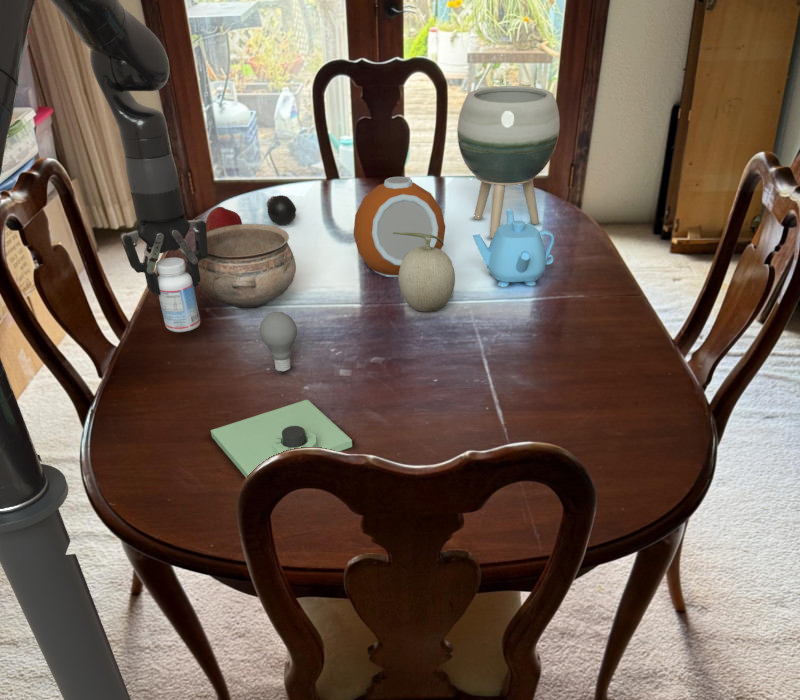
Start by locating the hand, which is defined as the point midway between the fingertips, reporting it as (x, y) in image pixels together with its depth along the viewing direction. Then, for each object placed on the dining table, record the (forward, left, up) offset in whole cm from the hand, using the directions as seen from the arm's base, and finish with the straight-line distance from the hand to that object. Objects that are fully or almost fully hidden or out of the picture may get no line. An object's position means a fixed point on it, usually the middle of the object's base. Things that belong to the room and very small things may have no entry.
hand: (175, 289), depth 132 cm
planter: (+84, +17, -11) cm, 87 cm away
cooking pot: (+17, +11, -11) cm, 23 cm away
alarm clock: (+51, +10, -11) cm, 53 cm away
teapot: (+66, -9, -11) cm, 68 cm away
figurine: (+45, +55, -11) cm, 72 cm away
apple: (+26, +45, -11) cm, 53 cm away
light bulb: (+10, -18, -11) cm, 23 cm away
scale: (0, -38, -10) cm, 39 cm away
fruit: (+44, -11, -11) cm, 47 cm away
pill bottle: (0, 0, -7) cm, 7 cm away
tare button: (0, -43, -8) cm, 44 cm away
